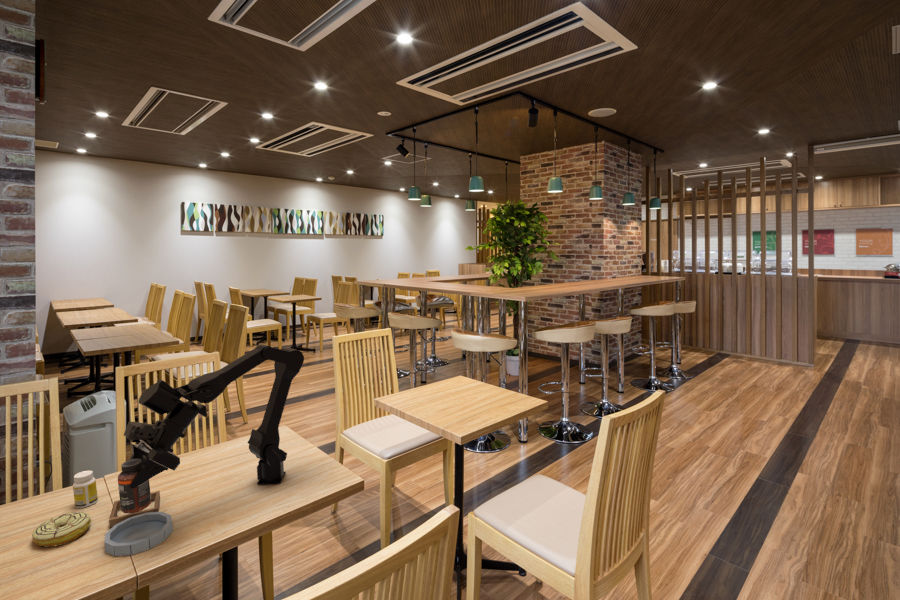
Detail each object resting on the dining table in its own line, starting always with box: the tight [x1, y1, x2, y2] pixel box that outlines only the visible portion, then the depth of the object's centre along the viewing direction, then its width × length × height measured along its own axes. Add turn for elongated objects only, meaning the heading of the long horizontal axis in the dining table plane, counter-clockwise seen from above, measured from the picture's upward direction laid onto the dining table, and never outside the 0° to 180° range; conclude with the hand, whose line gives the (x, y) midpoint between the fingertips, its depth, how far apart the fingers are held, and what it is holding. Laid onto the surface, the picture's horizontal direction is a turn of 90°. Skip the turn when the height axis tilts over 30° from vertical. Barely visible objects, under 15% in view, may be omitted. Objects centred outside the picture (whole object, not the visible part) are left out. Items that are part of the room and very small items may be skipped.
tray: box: [108, 490, 161, 530], centre depth 116 cm, size 10×10×2 cm
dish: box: [103, 511, 174, 557], centre depth 106 cm, size 13×13×2 cm
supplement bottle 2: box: [117, 459, 152, 514], centre depth 106 cm, size 6×6×11 cm
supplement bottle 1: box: [72, 470, 99, 509], centre depth 120 cm, size 5×5×8 cm
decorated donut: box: [31, 511, 92, 547], centre depth 107 cm, size 10×11×4 cm
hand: (127, 483), depth 105 cm, fingers closed on supplement bottle 2, 6 cm apart
